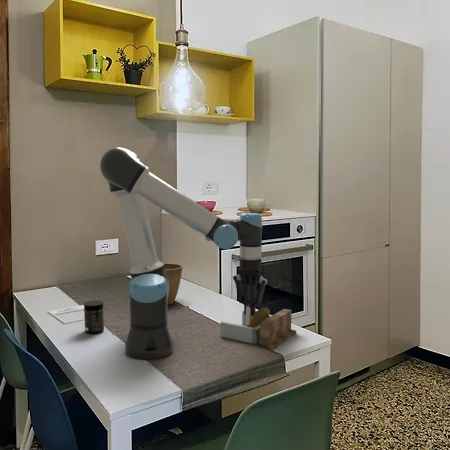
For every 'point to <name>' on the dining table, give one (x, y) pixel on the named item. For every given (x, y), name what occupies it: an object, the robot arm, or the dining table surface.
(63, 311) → the photo frame
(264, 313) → the rock
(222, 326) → the tray
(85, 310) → the supplement container
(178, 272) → the plant pot
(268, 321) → the wall
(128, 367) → the dining table surface
